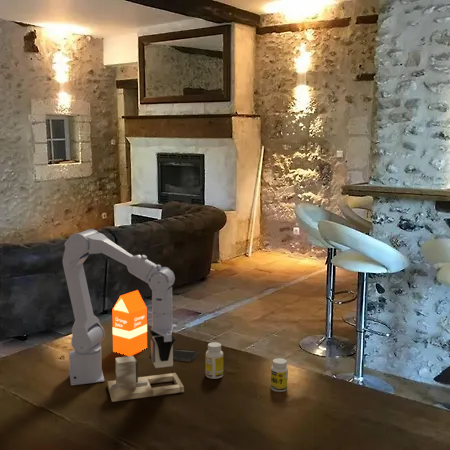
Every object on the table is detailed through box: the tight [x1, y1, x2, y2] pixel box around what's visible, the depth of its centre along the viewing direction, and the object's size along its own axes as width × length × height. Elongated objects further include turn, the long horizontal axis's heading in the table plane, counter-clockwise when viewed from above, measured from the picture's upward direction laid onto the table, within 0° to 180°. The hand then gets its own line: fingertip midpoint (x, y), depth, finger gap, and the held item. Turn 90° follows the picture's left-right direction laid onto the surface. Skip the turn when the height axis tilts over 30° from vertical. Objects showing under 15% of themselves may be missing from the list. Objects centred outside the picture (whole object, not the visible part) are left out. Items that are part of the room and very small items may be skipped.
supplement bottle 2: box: [270, 357, 289, 393], centre depth 155 cm, size 5×5×8 cm
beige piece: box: [107, 355, 185, 402], centre depth 154 cm, size 20×10×10 cm, turn 109°
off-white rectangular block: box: [150, 335, 174, 369], centre depth 155 cm, size 6×4×8 cm
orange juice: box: [111, 289, 148, 357], centre depth 183 cm, size 8×9×20 cm
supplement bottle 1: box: [205, 341, 224, 380], centre depth 164 cm, size 5×5×10 cm
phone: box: [149, 348, 199, 363], centre depth 180 cm, size 8×1×15 cm
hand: (162, 357), depth 155 cm, fingers closed on off-white rectangular block, 4 cm apart
